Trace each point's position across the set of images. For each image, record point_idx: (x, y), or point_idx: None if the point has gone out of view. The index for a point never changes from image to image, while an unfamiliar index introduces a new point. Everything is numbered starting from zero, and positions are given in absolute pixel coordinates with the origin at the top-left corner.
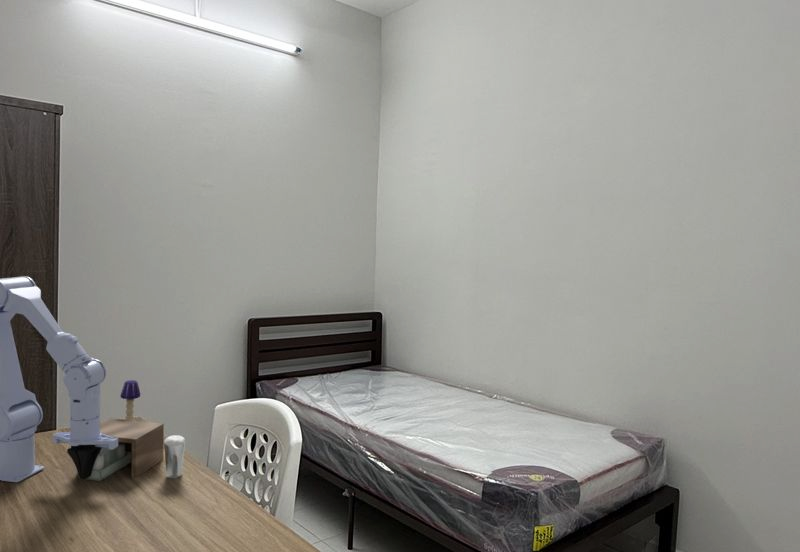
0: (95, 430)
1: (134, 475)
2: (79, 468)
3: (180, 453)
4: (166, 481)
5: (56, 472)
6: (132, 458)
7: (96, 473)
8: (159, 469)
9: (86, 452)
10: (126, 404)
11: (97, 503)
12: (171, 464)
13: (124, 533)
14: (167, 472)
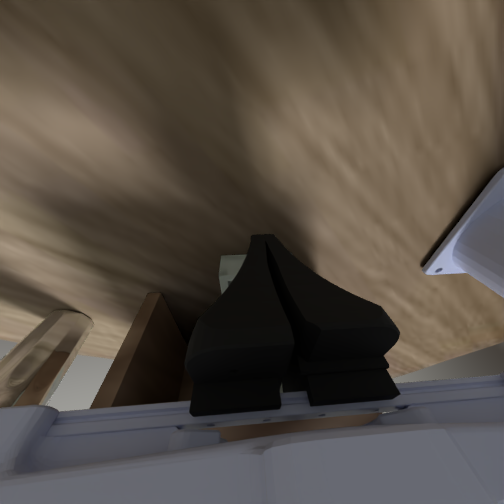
0: None
1: (150, 297)
2: (274, 254)
3: None
4: (48, 297)
5: (378, 263)
6: (134, 347)
7: (234, 270)
8: None
9: (196, 339)
10: None
11: (20, 62)
12: (15, 350)
13: None
14: (61, 323)
